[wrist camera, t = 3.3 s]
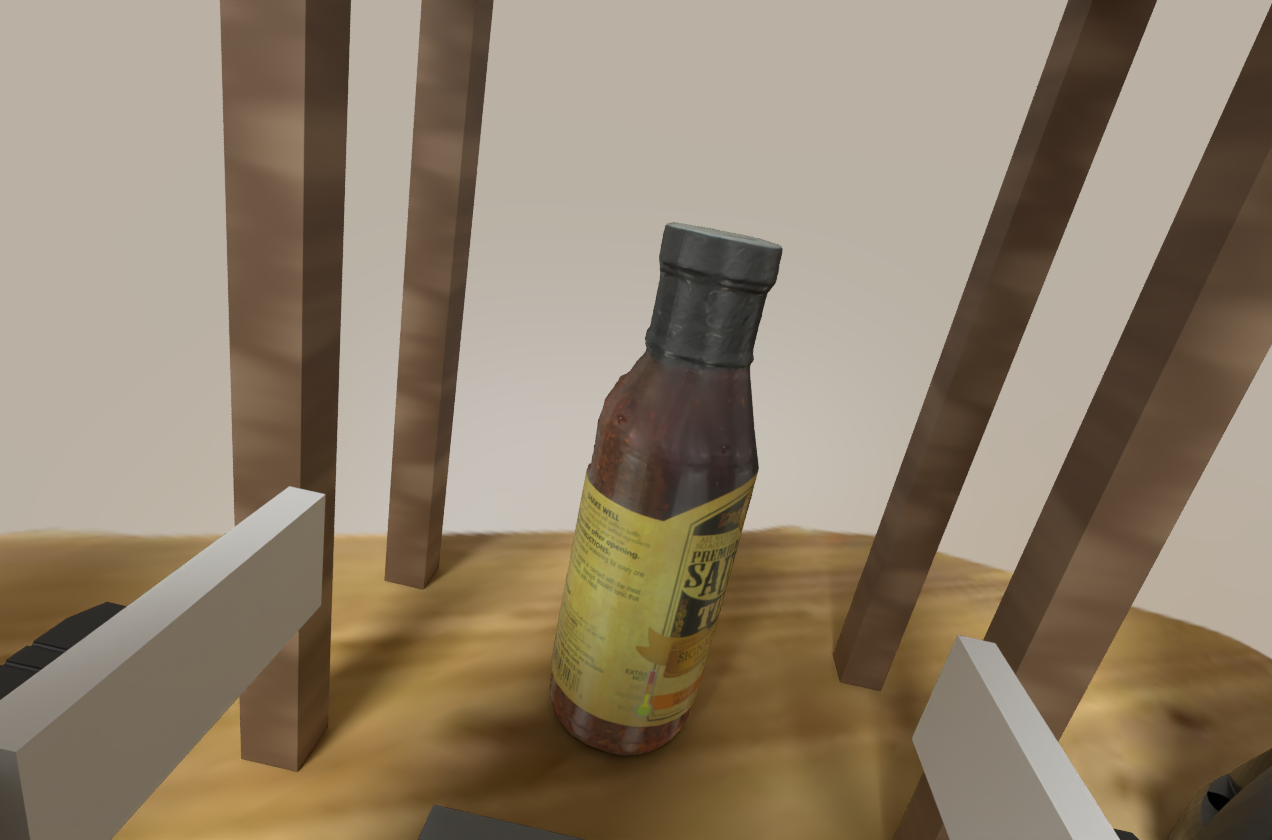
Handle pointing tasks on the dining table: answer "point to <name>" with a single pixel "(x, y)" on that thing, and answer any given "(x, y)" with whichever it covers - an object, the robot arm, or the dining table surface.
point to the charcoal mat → (479, 828)
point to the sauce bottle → (664, 500)
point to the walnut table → (951, 413)
